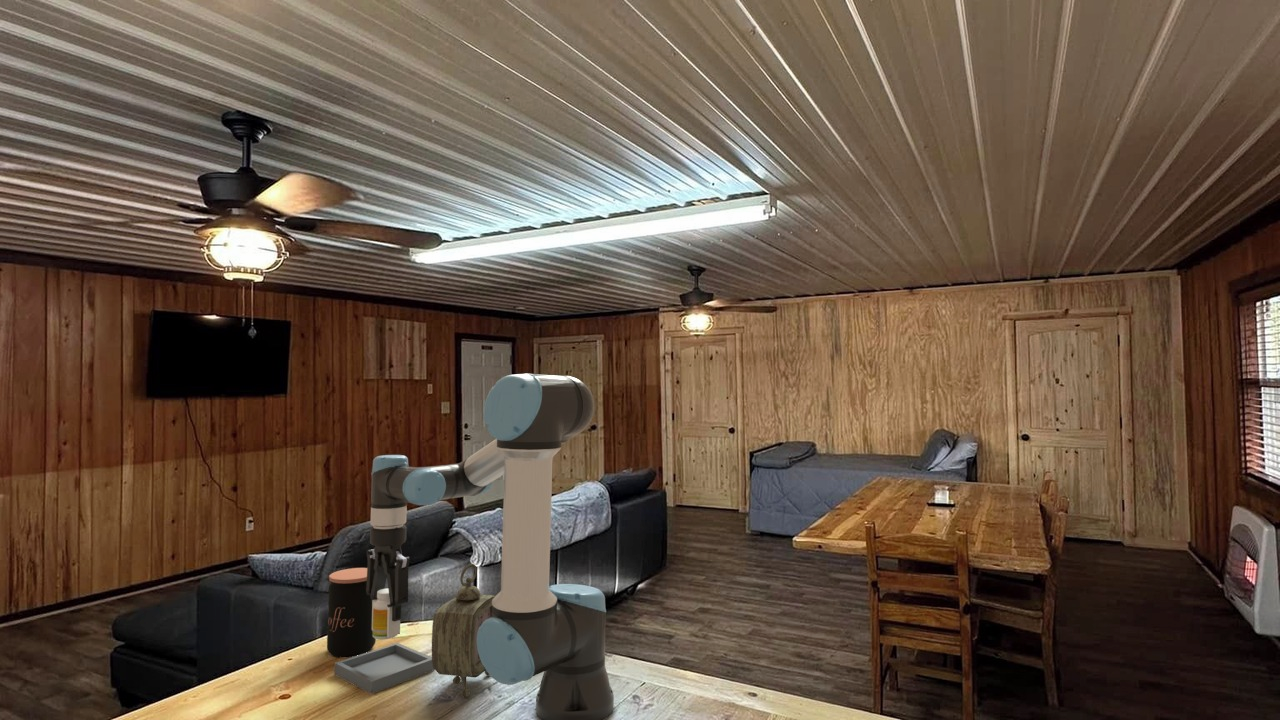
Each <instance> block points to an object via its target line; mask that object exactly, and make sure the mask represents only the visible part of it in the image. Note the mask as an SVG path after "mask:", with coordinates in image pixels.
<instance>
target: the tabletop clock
mask: <svg viewBox="0 0 1280 720" xmlns="http://www.w3.org/2000/svg"><path fill="white" fill-rule="evenodd" d="M471 567H472V568H473V570H474V572H473V573H474V574H473V575H472V577H467V578H465V582H464V580H463V579H464V576H465V573H466V572H467V570H468V569H470V568H471ZM477 569H478V568H477V566H476V565H475V563H468V564H467V565H466V566H465V567H463V569H462V571H461V574H460V578H459V579H460V581H459V582H460V584H461V587H460V588H459V589H458V591H457V593H456V595H455V597H454V598H452V599H450V600H448V601H446V602H445V603H444V604H442V605H440V607H438V608H437V610H436V611H435V612H434V614H433V618H432V619H433V620H432V627H431V628H432V629H431V631H432V632H431V657H432V665H433V668H434V669H435V670H434V671H436V673H437V674H439V675H442V676H454V677H453V679H452V684H453V685H455V686H456V685H459V684H461V683H462V686H463V689H462V691H461V696H462V697H463V698H468V697H470V694H471V691H470V689H469V688H467V686H468V685H467V678H478V677H479V676H480V675H481V674H483V673H484V675H486V676H490V675H489V673H488V672H487V671H486V669H485V667H484V666H483V664H482V662H481V660H480V657H479V654H478V650H477V632H478V629H479V627H480V626H481V625H482V623H483V622H484V621H485V620H486V619H489V618H491V615H492V600H493V598H494V597H495V596H496V595H494V594H493V595H491V594H490V595H489V594H481V591H480V589H479V588H478V587H477V586H475V585H472V583H473V582H474V581H475V579H476V576H477V573H478V572H477V571H478V570H477Z"/></svg>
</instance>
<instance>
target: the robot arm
mask: <svg viewBox="0 0 1280 720" xmlns="http://www.w3.org/2000/svg"><path fill="white" fill-rule="evenodd" d="M594 414H595V399H594V397H593V394H592V392H591V390H590V388H589V387H588V386H587V385H586V384H585V383H584V382H583V381H581V380H580V379H578V378H576V377H573V376H570V375H553V374H538V373H536V374H535V373H527V372H526V373H517V374H509V375H506V376H505V375H504V376H503V377H502V378H500V379H498V380H497V381H496V382H495V385H494V386H492V387H491V388H490V390H489V392H488V394H487V396H486V397H485V403H484V406H483V420H484V425H485V427H487V429H486V430H487V432H488V433H489V435H490V436H491V437H493V438H494V439H493V440H492V441H491V442H490V443H488V444H486V445H485V446H484V447H482V448H480V449H479V450H477V451H476V452H475V453H473V454H472V455H470V456H469V457H468V458H466V459H464V460H462V461H461V462H459V463H450V464H443V465H433V466H419V467H417V466H416V467H415V466H410V465H409V458H408V457H407V456H406V455H402V454H385V455H384V454H383V455H378V456H376V457H375V458H373V460H372V469H371V486H370V487H371V491H370V493H371V496H370V497H371V498H370V500H371V501H370V503H371V504H370V505H371V506H370V520H369V521H370V523H369V524H370V525H371V526H372V527H371V528H370V529H369V530H370V531H369V533H370V534H369V535H370V537H369V543H370V544H371V545H372V546H374V548H373V549H367V550H366V558H367V566H366V568H367V585H366V593H367V595H369V594H370V595H371V596H370V597H371V599H372V630H373V606H374V603H375V602H376V601H377V600H378V599H377V591H379V590H381V589H386V583H387V588H388V590H389V598H390V604H389V605H387V606H388V611H387V637H391V636H395V635H397V636H398V635H400V634H401V618H402V605H403V604H406V603H408V602H409V566H410V563H411V559H410V556H404V555H403V552H402V545H403V544H404V543H406V541H407V526H406V523H407V518H408V517H407V511H408V509H407V506H408V503H409V504H413V505H416V506H432V505H435V504H436V503H437V502H439V501H443V500H448V499H449V500H450V499H456V498H463V497H475V496H477V495H481V494H485V493H487V492H488V491H489V490H490V489H491V487H492V485H493V482H494V481H495V480H498V479H499V478H501V477H502V476H503V475H504V478H503V508H502V509H503V510H502V513H503V514H502V517H503V518H502V541H501V542H502V544H501V575H500V576H501V579H500V591H499V592H498V593H497V594H496V595H494V596H495V597H494V598H493V600H492V615H491V618H489V619H486V620H485V621H484V622H483V623H482V625H481V626H480V627H479V629H478V632H477V650H478V654H479V657H480V660H481V662H482V664H483V666H484V667H485V669H486V671H487V672H488V673H489V675H488V676H490V677H491V678H492V679H493V680H494V681H496V682H498V683H500V684H502V685H505V686H511V685H517V684H518V683H521V682H527V681H530V680H531V679H532V678H533V677H535V676H537V675H539V674H541V673H543V674H542V677H541V680H540V681H541V682H540V686H539V689H538V691H537V692H536V693H537V694H536V697H535V713H536V715H537V716H538V717H539V718H540V719H541V720H604V719H606V718H607V717H608V716H609V715H611V713H613V710H614V706H615V705H614V704H615V703H614V701H615V697H614V691H613V689H612V687H611V684H610V680H609V675H608V672H607V669H606V668H607V667H606V617H607V616H606V615H607V614H606V613H607V609H606V597H605V596H606V595H605V594H604V592H602V590H601V589H600V588H597V587H595V586H589V585H584V584H578V583H577V584H576V583H558V584H552V585H550V568H551V567H550V562H551V558H550V557H551V533H552V531H551V527H552V525H551V524H552V523H551V522H552V493H553V492H552V491H553V489H552V488H553V485H552V484H553V458H554V456H555V455H556V454H558V452H559V451H560V450H562V444H565V443H567V442H568V441H569V440H571V439H573V438H574V437H576V436H578V435H580V434H581V433H582V432H583V431H584V430H586V429H587V427H589V425H590V423H592V421H593V417H594ZM371 587H372V588H371ZM395 637H396V636H395Z"/></svg>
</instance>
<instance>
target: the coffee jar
mask: <svg viewBox="0 0 1280 720" xmlns="http://www.w3.org/2000/svg"><path fill="white" fill-rule="evenodd" d="M328 579H329V582H330V584H329V586H328V598H327V600H328V601H327V603H328V605H327V630H326V631H327V632H326V633H327V634H326V635H327V637H326V649H327V652H328V654H329V655H330V656H332V657H334V658H340V657H346V658H351V657H352V656H354V657H355V656H357V655H361V654H364V653H366V652H368V651H369V652H370V651H372V649H373V647H374V646H375V644H376V640H377V639H375V638H374V637H373V630H372V599H371V597H370V596H371V595H370V594H369V595H367V593H366V585H367V567H351V568H347V569H346V568H345V569H341V570H337V571H334V572H332V573H330V574H329V575H328ZM371 588H372V587H371Z"/></svg>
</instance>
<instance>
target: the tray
mask: <svg viewBox="0 0 1280 720" xmlns="http://www.w3.org/2000/svg"><path fill="white" fill-rule="evenodd" d="M433 671H436V670H435V669H434V668H433V665H432V656H430V655H428V654H426V653H422V652H420V651H418V650H416V649H413V648H411V647H408V646H406V645H404V644H401V643H399V642H395V643H391V644H389V645H385V646H382V647H379V648H376V649H373V650H370V651H369V652H367V653H364V654H361V655H358V656H354V657H347V658H345V659H342V660H339V661H336V662H334V673H333V674H334V675H335V676H336V677H337V678H338V677H339V678H340V679H342V680H343V681H345V680H346V682H347V681H348V683H349V682H350V683H349V684H351V683H352V685H353V684H354V685H353V686H355V687H357V688H359V689H361V690H363V691H365V692H367V693H369V694H370V695H372V694H375V693H378V692H380V691H383V690H386V689H389V688H392V687H394V686H397V685H399V684H402V683H405V682H407V681H409V680H410V681H411V680H412V679H414V678H415V679H416V678H417V677H420V676H422V675H425V674H427V673H431V672H433Z"/></svg>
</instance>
